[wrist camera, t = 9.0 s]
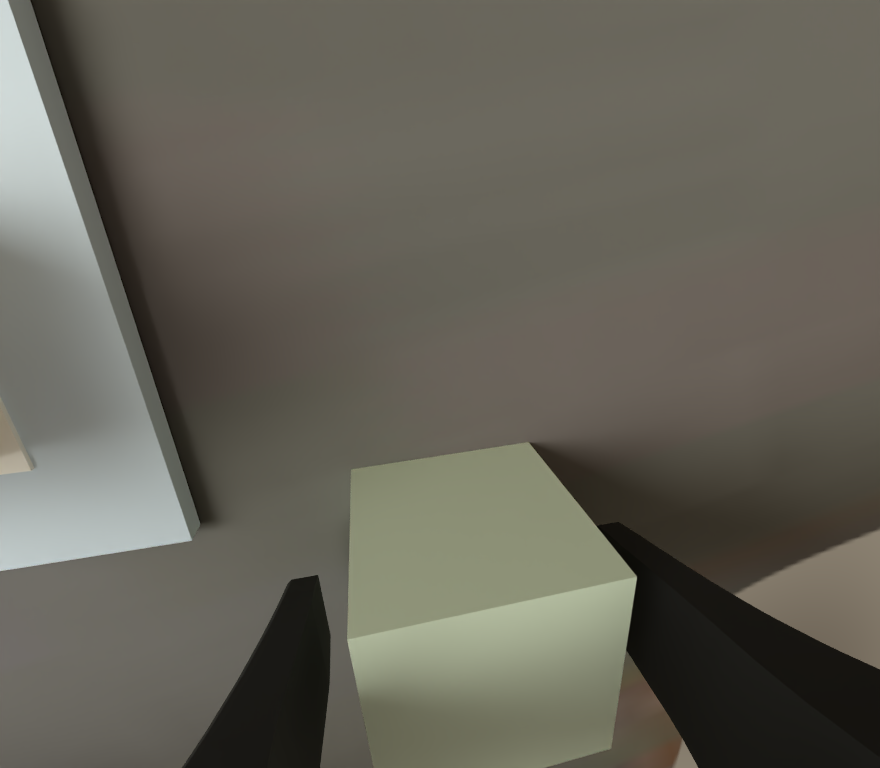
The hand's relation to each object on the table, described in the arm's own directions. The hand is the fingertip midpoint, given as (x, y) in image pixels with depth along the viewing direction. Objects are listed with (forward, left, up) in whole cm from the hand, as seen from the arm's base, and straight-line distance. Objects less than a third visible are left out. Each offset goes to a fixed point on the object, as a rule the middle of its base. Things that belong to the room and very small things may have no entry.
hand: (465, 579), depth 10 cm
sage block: (0, 0, -2) cm, 2 cm away
